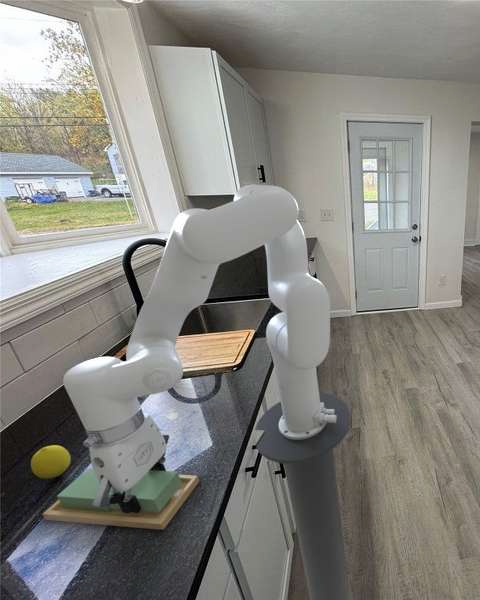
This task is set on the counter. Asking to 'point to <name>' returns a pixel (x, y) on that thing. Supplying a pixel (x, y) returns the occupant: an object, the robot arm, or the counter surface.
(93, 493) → the pad
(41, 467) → the lemon
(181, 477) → the tray
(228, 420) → the counter surface
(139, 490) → the pad
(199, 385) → the counter surface
